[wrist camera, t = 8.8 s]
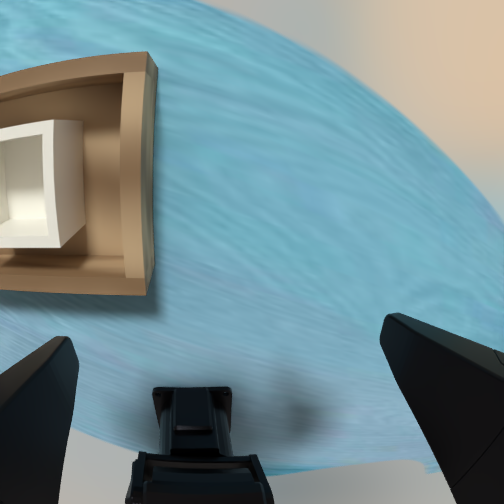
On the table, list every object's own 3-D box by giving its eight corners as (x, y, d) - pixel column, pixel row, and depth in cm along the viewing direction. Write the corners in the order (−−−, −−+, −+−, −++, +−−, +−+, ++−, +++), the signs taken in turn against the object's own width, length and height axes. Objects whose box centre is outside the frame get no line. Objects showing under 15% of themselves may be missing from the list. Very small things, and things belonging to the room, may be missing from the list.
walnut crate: (154, 264, 19) (146, 295, 16) (-16, 261, 17) (-44, 285, 13) (158, 68, 15) (147, 51, 11) (-28, 99, 12) (-62, 99, 9)
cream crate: (85, 223, 17) (60, 247, 13) (8, 225, 15) (-25, 247, 12) (83, 120, 14) (53, 119, 11) (2, 132, 13) (-36, 137, 10)
